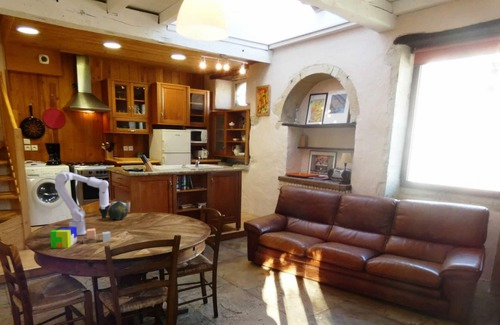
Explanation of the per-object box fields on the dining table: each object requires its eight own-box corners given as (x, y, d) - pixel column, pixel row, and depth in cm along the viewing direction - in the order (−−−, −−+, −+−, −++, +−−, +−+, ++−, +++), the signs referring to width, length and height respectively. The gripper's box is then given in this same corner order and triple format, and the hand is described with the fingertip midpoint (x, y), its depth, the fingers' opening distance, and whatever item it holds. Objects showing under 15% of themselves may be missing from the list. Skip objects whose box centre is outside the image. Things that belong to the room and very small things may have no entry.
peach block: (86, 238, 187) (86, 231, 187) (87, 236, 191) (87, 228, 191) (94, 238, 189) (94, 230, 188) (95, 235, 193) (95, 228, 192)
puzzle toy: (77, 242, 189) (76, 226, 188) (68, 247, 179) (67, 231, 178) (61, 242, 189) (60, 226, 188) (51, 247, 179) (50, 231, 178)
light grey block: (103, 242, 189) (103, 234, 189) (102, 240, 193) (101, 232, 192) (110, 240, 192) (110, 233, 191) (109, 238, 195) (109, 231, 195)
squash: (108, 216, 229) (121, 200, 236) (101, 213, 240) (113, 197, 246) (123, 225, 238) (134, 209, 244) (115, 222, 248) (126, 207, 254)
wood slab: (83, 244, 186) (83, 239, 185) (85, 240, 192) (85, 236, 192) (95, 243, 188) (95, 238, 187) (97, 239, 194) (97, 235, 194)
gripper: (109, 199, 203) (109, 219, 204) (111, 195, 216) (111, 213, 217) (97, 200, 200) (98, 220, 201) (100, 196, 214) (101, 214, 215)
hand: (104, 216), depth 209 cm, fingers open, 7 cm apart
